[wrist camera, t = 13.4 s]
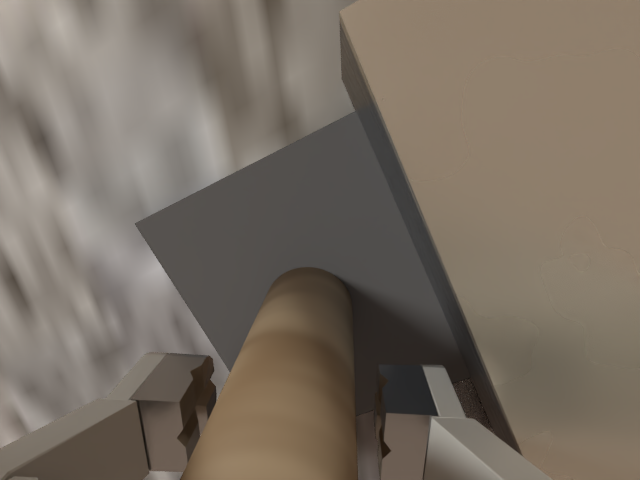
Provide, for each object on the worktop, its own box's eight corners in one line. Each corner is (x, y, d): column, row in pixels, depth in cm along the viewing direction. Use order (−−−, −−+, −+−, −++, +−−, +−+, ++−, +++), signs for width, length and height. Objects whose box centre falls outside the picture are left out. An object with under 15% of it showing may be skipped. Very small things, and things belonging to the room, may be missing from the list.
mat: (277, 434, 15) (275, 443, 14) (141, 220, 12) (134, 223, 12) (467, 370, 13) (471, 377, 13) (355, 111, 11) (355, 110, 10)
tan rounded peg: (312, 359, 13) (264, 692, 5) (248, 308, 12) (96, 594, 5) (370, 306, 12) (411, 611, 5) (304, 249, 12) (225, 484, 4)
